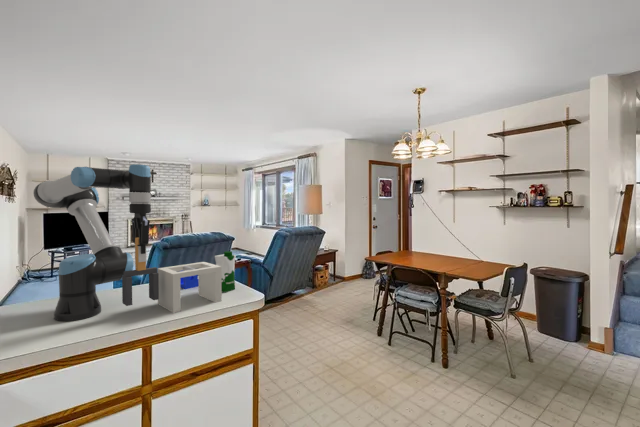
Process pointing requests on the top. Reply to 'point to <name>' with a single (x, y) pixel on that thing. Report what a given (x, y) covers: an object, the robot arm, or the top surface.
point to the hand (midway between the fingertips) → (140, 260)
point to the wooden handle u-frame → (139, 270)
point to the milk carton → (227, 270)
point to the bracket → (189, 282)
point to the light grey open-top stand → (171, 279)
